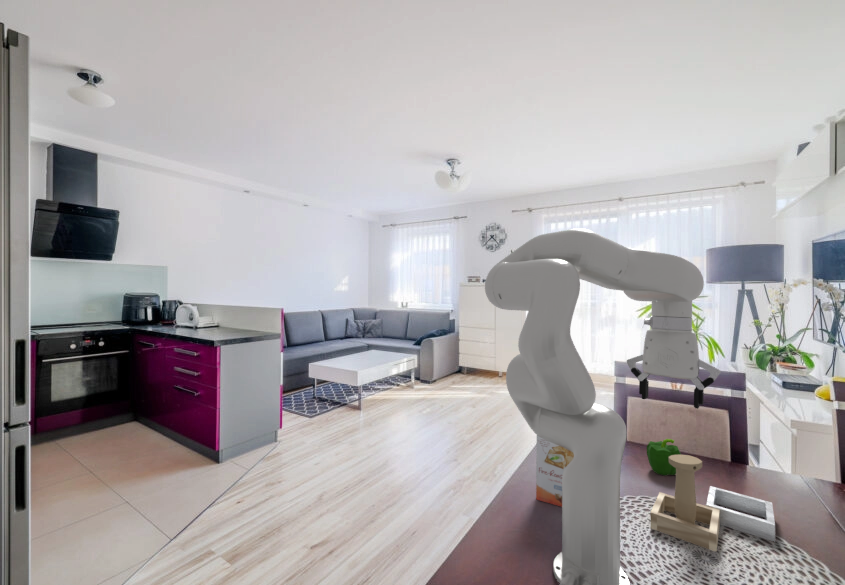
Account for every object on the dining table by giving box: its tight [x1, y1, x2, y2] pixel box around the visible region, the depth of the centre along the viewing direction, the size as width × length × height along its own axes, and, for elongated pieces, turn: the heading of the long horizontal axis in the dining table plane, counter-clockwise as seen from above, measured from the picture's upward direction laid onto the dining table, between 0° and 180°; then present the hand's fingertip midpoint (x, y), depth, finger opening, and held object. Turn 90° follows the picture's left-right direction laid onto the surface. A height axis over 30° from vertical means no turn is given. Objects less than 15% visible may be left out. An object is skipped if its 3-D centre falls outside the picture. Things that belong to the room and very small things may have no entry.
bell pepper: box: [646, 438, 682, 477], centre depth 108 cm, size 8×8×10 cm
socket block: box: [705, 485, 776, 543], centre depth 85 cm, size 11×11×4 cm
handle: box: [669, 454, 703, 525], centre depth 82 cm, size 5×6×15 cm
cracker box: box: [535, 434, 574, 508], centre depth 91 cm, size 14×6×21 cm, turn 60°
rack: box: [650, 491, 721, 553], centre depth 82 cm, size 11×11×4 cm
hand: (669, 402), depth 82 cm, fingers open, 9 cm apart
